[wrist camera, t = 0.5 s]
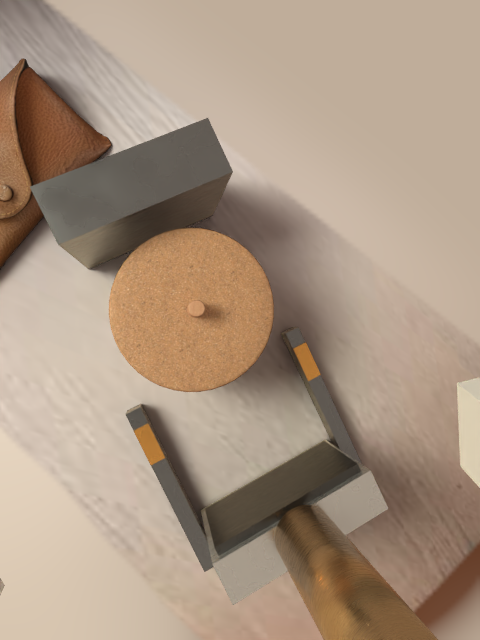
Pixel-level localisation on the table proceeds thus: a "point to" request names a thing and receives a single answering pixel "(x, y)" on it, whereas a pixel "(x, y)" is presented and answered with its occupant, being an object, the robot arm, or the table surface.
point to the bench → (144, 223)
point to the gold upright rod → (310, 545)
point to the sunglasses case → (36, 149)
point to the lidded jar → (191, 309)
